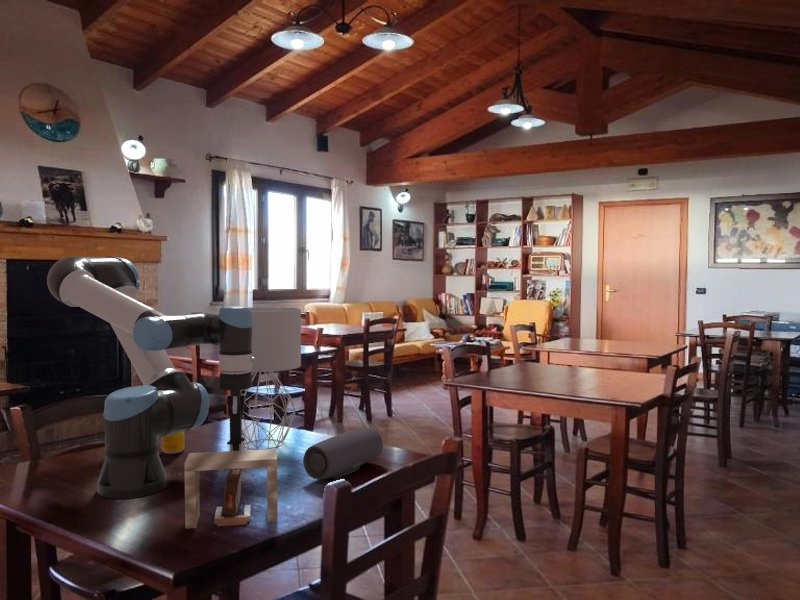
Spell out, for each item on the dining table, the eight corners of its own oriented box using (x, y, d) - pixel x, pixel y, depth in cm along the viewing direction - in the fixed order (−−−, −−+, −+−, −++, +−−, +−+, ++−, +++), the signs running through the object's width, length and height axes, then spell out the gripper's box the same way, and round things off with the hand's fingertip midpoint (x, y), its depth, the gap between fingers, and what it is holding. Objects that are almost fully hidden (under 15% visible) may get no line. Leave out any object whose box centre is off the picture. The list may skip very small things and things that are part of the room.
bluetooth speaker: (356, 459, 182) (356, 423, 181) (384, 464, 177) (384, 427, 176) (301, 481, 163) (300, 441, 162) (331, 488, 158) (331, 446, 157)
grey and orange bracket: (214, 526, 134) (213, 519, 134) (216, 512, 141) (216, 505, 141) (249, 524, 135) (249, 516, 135) (250, 510, 143) (250, 503, 143)
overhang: (185, 528, 132) (184, 464, 132) (189, 514, 140) (189, 453, 140) (277, 522, 136) (277, 459, 136) (276, 508, 144) (276, 448, 143)
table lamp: (211, 443, 199) (209, 309, 197) (277, 431, 213) (276, 306, 211) (245, 459, 181) (244, 312, 180) (315, 445, 196) (315, 309, 194)
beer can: (158, 451, 189) (157, 398, 189) (178, 447, 194) (178, 396, 193) (167, 455, 185) (166, 402, 184) (188, 451, 189) (187, 399, 188)
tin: (229, 497, 151) (229, 461, 150) (244, 497, 151) (243, 460, 151) (222, 522, 136) (221, 481, 136) (237, 521, 136) (237, 481, 136)
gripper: (251, 375, 152) (251, 477, 153) (252, 367, 165) (252, 461, 166) (217, 376, 150) (217, 479, 152) (221, 367, 163) (221, 463, 164)
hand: (236, 470), depth 159 cm, fingers closed
